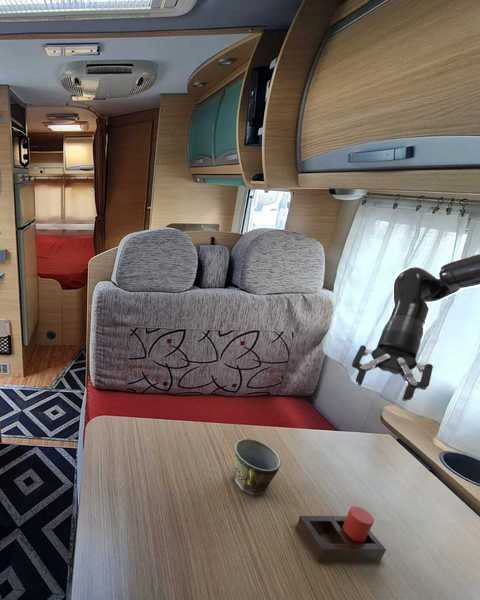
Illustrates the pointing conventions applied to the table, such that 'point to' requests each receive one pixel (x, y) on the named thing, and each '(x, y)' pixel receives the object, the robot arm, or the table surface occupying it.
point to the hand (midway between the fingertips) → (381, 392)
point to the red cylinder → (357, 525)
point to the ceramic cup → (255, 465)
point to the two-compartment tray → (337, 541)
